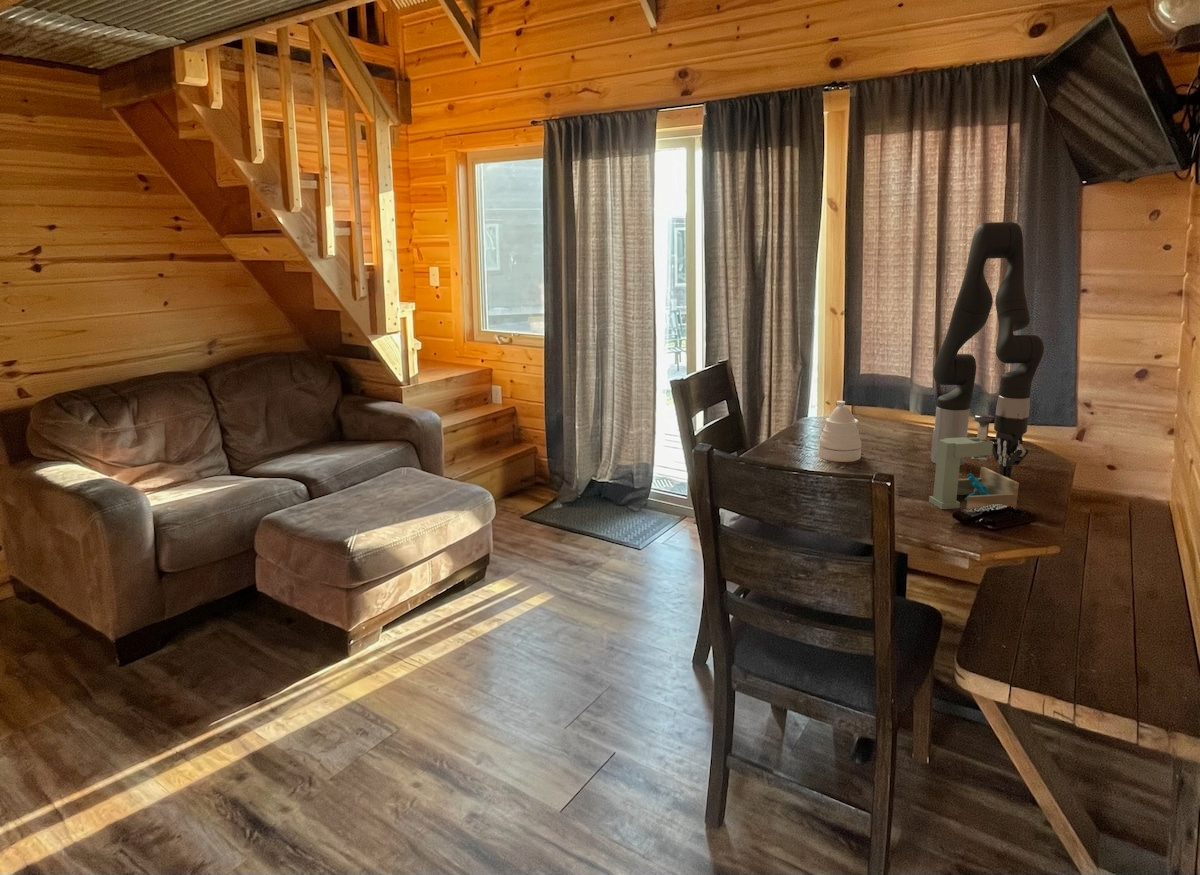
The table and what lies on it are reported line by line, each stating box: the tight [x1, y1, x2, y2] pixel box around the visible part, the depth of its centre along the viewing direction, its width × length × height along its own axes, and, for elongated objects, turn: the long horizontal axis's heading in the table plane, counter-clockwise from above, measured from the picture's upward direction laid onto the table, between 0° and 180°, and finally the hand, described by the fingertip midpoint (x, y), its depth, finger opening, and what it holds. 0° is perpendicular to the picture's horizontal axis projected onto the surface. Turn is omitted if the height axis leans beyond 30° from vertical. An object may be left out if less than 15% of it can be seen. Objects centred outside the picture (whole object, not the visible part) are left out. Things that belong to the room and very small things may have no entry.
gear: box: [964, 472, 991, 503], centre depth 209 cm, size 11×6×10 cm
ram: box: [970, 413, 995, 462], centre depth 204 cm, size 4×4×11 cm
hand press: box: [928, 436, 993, 510], centre depth 206 cm, size 6×13×17 cm, turn 98°
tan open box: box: [957, 466, 1020, 511], centre depth 208 cm, size 14×13×7 cm
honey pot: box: [817, 400, 862, 463], centre depth 251 cm, size 13×13×18 cm
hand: (1004, 478), depth 208 cm, fingers closed
